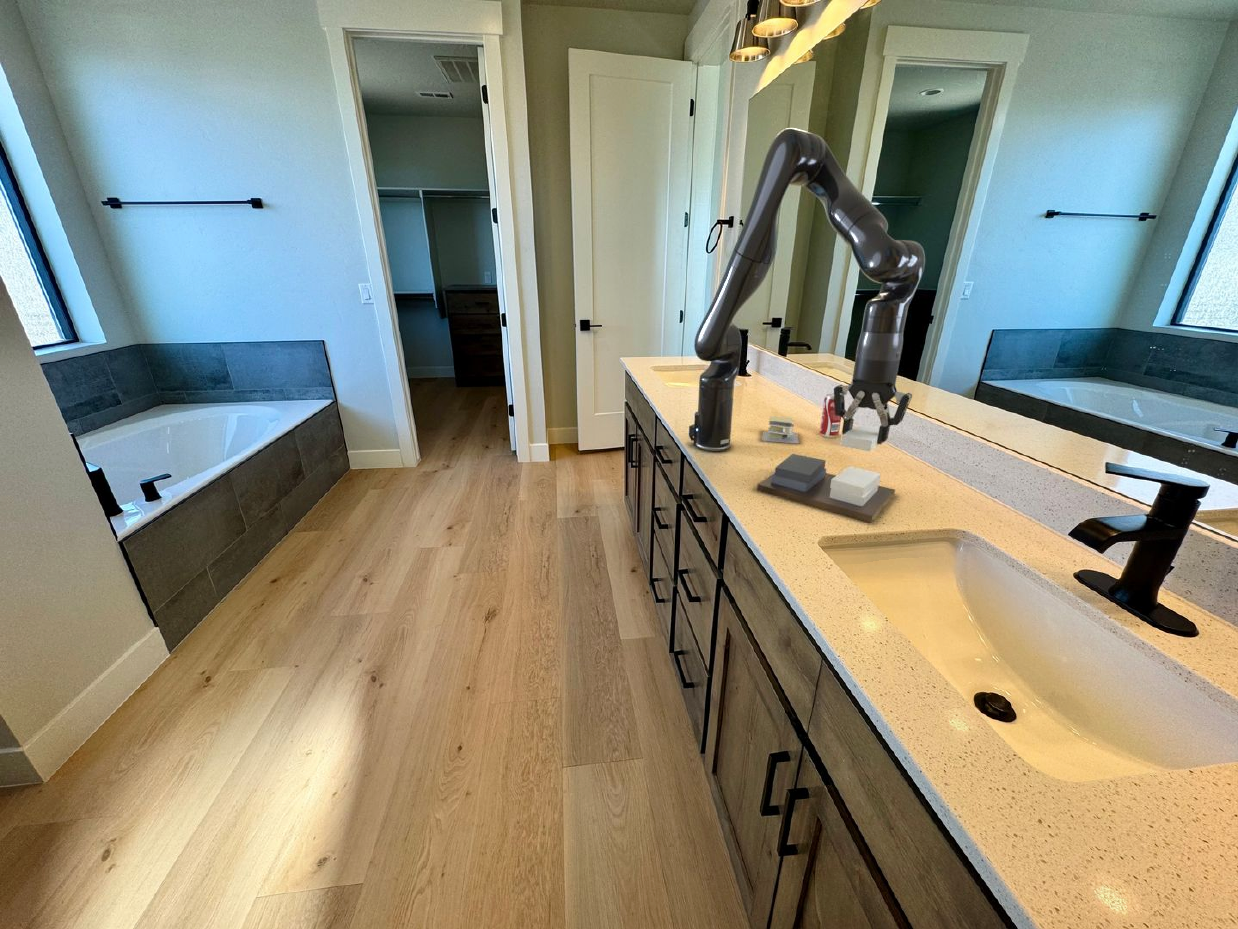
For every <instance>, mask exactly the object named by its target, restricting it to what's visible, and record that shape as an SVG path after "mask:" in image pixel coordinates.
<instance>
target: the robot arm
mask: <svg viewBox="0 0 1238 929" xmlns="http://www.w3.org/2000/svg"><path fill="white" fill-rule="evenodd" d="M764 158H765V159H764V161H763V163H762V168H761V171H760V174H759V178H758V180H757V185H756V188H755V190H754V194H753V197H752V201H751V204H750V206H749V208H748V212H747V215H746V217H745V220H744V223H743V225H742V228H741V230H740V233H739V235H738V237H737V240H736V242H735V245H734V247H733V249H732V251H731V254H730V257H729V260H728V262H727V265H726V268H725V270H724V273H723V276H722V277H721V278H722V279H721V280H720V283H719V285H718V288H717V290H716V292H715V294H714V297H713V300H712V302H711V303H710V305H709V308H708V310H707V312H706V313H705V316H704V317H703V320H702V321H701V323H700V325H699V327H698V329H697V332H696V334H695V338H694V342H693V343H694V345H693V346H694V352H695V355H696V357H697V358H698V359H700V360H701V361H704V362H710V364H709V365H708V367H706V369H705V370H704V371H703V372H702V373H701V374H700V375H699V378H698V380H699V381H698V382H699V383H698V400H697V402H698V403H697V404H698V405H697V411H695V412H694V422H693V424H691V425H689V426H688V438H689V439H690V441H691V442H693V444H692V446H693V447H694V446H695V447H696V448H697V449H699V450H702V451H707V452H725V451H727V450H729V449H731V436H732V424H733V409H734V408H733V407H734V395H735V394H734V393H735V381H736V379H737V377H738V375H739V369H740V363H741V354H742V335H741V332H740V329H739V327H738V326H737V325H736V324H735V323H732V322H733V320H734V318H735V317H736V315H737V313H738V312H739V311H740V310H741V308H742V307H743V306H744V305H745V304H746V303H747V302H748V301H749V299H751V297H752V296H753V295H754V294H755V293H756V292H757V291H758V289H759V288H760V287H761V285H762V284H763V282H764V280H765V279H766V277H767V274H768V272H769V270H770V268H771V266H772V263H773V261H774V259H775V256H776V254H777V252H776V251H777V248H778V247H777V246H778V229H777V228H778V227H777V225H778V224H777V223H778V222H777V221H778V214H779V210H780V207H781V205H782V202H783V199H784V196H785V194H786V192H787V190H788V188H789V186H790V185H792V186H798V187H800V186H801V187H803V188H805V189H806V190H807V191H809V192H811V193H812V194H813V195H815V197H817V199H819V201H820V202H821V205H823V206H822V207H823V208H824V212H825V215H826V218H827V221H828V222H829V224H830V226H831V227H832V229H833V231H835V233H836V234H837V235H838V236H839V237H840V238H841V240H843V242H844V243H845V244H846V245H847V246H848V247H849V248H850V249H851V253H852V255H853V257H854V259H855V261H856V263H857V265H858V268H859V269H860V271H861V273H862V274H863V275H864V276H865V277H866V278H868V279H869V280H870V281H872V282H874V283H877V284H881V287H880V290H879V293H878V294H877V295H876V296H875V297H873V298H871V299H869V300H868V301H867V303H866V305H865V308H864V313H863V319H862V326H861V331H860V335H859V338H858V340H857V347H856V350H855V361H854V367H853V372H852V380H851V382H850V384H849V385H844V384H839V385H836V386H834V388H833V394H834V408H835V415H836V416H840V417H841V419H843V422H842V430H841V434H842V435H843V434H845V433H846V432H848V431H849V430H851V429H852V428H853V427H854V421H855V419H854V418H853V417H854V415H856V413H857V411H858V410H859V409H860V408H861V409H870V410H874V411H876V414H877V416H878V417H879V421H880V426H879V434H878V440H877V444H878V445H882V444H884V443H885V442H886V441H887V440H888V439H889V435H890V429H891V426H899V424H900V423H902V422H903V419H904V417H905V415H906V413H907V410H908V408H909V406H910V403H911V401H912V398H913V394H912V393H910V392H907V393H904V392H900V391H898V390H897V387H896V382H897V378H898V372H899V368H900V367H899V366H900V362H901V357H902V352H903V345H904V331H905V327H906V321H907V316H908V310H909V306H910V304H911V302H912V300H913V298H914V296H915V293H916V291H917V290H918V286H919V284H920V282H921V280H922V277H923V274H924V271H925V266H926V254H925V250H924V248H923V246H922V245H921V244H920V243H919V242H917V241H915V240H911V239H894V238H892V237H891V236H890V235H889V234H888V230H889V223H888V221H887V218H886V217H885V216H884V214H882V212H880V210H879V209H878V208H877V207H876V206H875V205H874V204H873V203H872V202H871V201H870V200H869V199H868V198H867V197H866V195H864V194H863V193H862V192H861V191H860V190H859V189H858V188H857V187H856V185H855V184H854V183H853V182H852V180H851V179H850V178H849V177H848V176H847V174H846V173H845V172H844V169H843V168H842V166H841V165H840V164H839V162H838V160H837V158H836V157H835V156H834V154H833V152H832V150H831V148H830V147H829V146H828V144H827V142H826V141H825V140H824V138H822V136H820V135H819V134H816V133H813V132H809V131H806V130H802V129H798V128H794V127H788V128H785V129H783V130H781V131H780V132H779V133H778V134H777V135H776V136H775V137H774V139H773V140H772V142H771V144H770V146H769V148H768V150H767V152H766V155H765V157H764ZM848 392H849V394H850V396H851V398H852V399H853V401H852V402H851V403H850V404H849V406H848V408H847V409H846V404H845V402H846V400H845V396H847V395H848ZM893 398H895V403H896V405H897V408H896V410H895V414H894V416H893V417H891V414H890V413H891V412H890V407H889V402H890V401H892V399H893Z"/></svg>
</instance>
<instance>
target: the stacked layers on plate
mask: <svg viewBox="0 0 1238 929" xmlns="http://www.w3.org/2000/svg"><path fill="white" fill-rule="evenodd" d="M795 422H796V421H795V420H794V419H793V418H792V417H789V416H769V421H768V425H769V427H768V431H762V437H761V441H762V442H773V443H787V444H799V443H800V442H799V440H800V439H799V434H798V433H795V432H794V431H793V430H794V428H795V424H793V423H795Z"/></svg>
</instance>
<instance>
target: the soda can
mask: <svg viewBox="0 0 1238 929" xmlns="http://www.w3.org/2000/svg"><path fill="white" fill-rule="evenodd" d="M841 422H842V417H840V416H836V415H835V408H834V393H826V394H825V397H824V399H823V405H822V412H821V418H820V427H819V435H820V436H821V437H823V438H831V439H832V438H837V437H838V436H839V434H840V428H841Z"/></svg>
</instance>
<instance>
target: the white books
mask: <svg viewBox="0 0 1238 929" xmlns="http://www.w3.org/2000/svg"><path fill="white" fill-rule="evenodd" d="M881 477H882V473H879V472H875V471H871V470H867V469H864V468H859V467H855V466H848V467H847V468H846V469H844V470H842V471H841V472H840V473H839V474H837V476H836V477H834V478H833V479H831V486H830V488H832V489H831V492H830V498H833V499H836V500H840V501H844V502H847V503H851V504H855V505H859V506H863V505H864V504H865V503H866V502H867V501H868V500H869V499H870V498H871V497H872V496H873V495H874V494H875V493H876V491H877V490H878V486H880V481H881Z"/></svg>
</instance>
